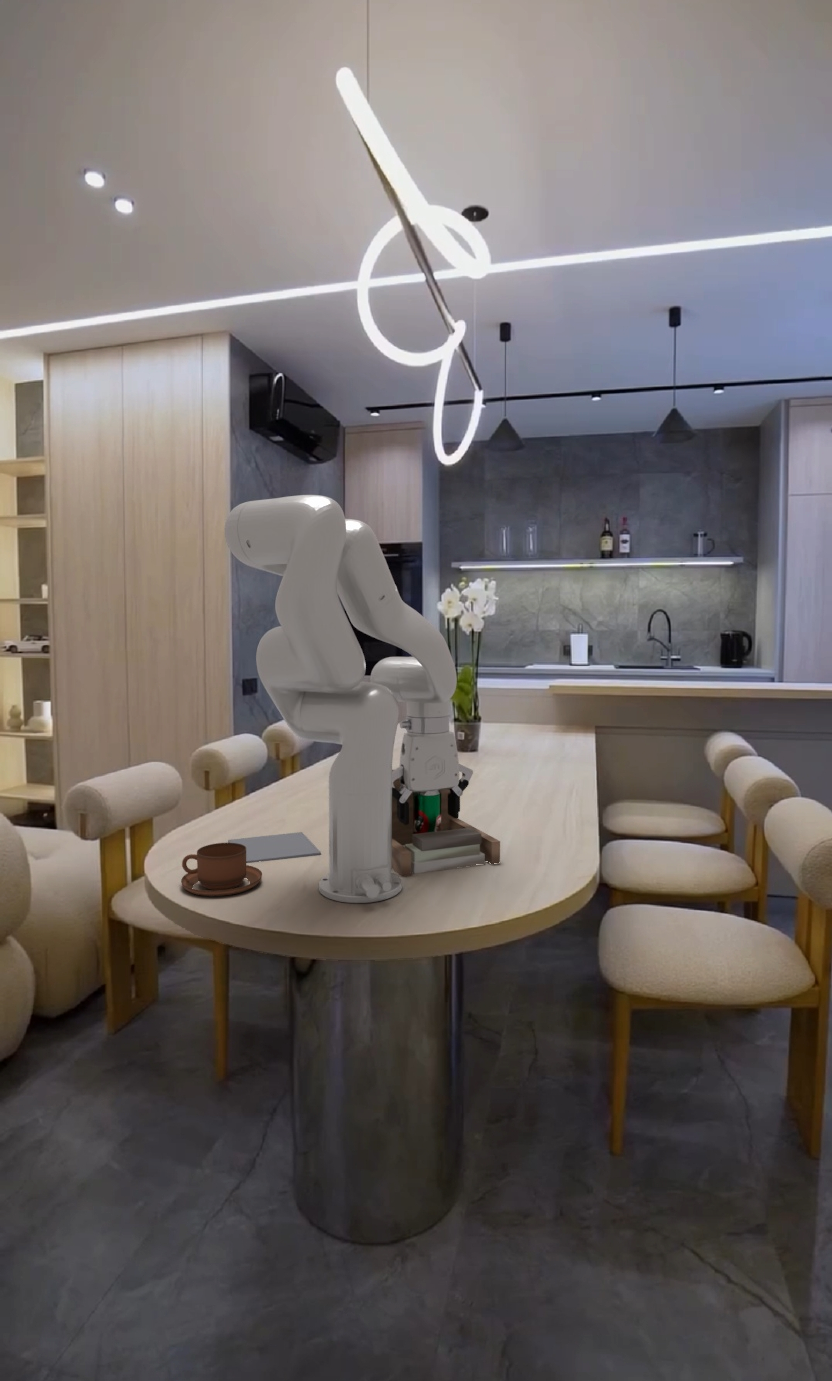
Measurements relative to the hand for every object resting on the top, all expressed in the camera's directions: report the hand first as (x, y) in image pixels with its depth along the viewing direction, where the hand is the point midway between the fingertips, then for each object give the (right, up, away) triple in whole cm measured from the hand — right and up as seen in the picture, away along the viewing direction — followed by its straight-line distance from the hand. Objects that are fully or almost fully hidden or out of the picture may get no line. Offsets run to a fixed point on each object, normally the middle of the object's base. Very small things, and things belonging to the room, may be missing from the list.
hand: (428, 819), depth 127 cm
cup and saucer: (-32, -8, -18) cm, 38 cm away
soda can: (0, -6, 0) cm, 6 cm away
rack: (0, -6, -2) cm, 6 cm away
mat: (-28, -6, +2) cm, 29 cm away
